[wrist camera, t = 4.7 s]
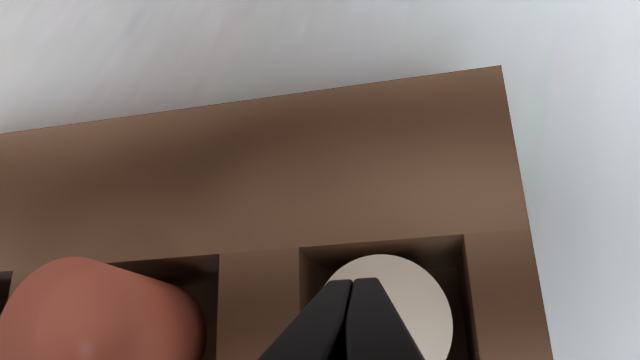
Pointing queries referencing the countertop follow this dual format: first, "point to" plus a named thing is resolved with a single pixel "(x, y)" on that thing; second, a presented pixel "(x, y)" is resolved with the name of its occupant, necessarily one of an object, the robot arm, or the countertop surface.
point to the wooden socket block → (291, 205)
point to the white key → (409, 299)
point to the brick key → (99, 316)
